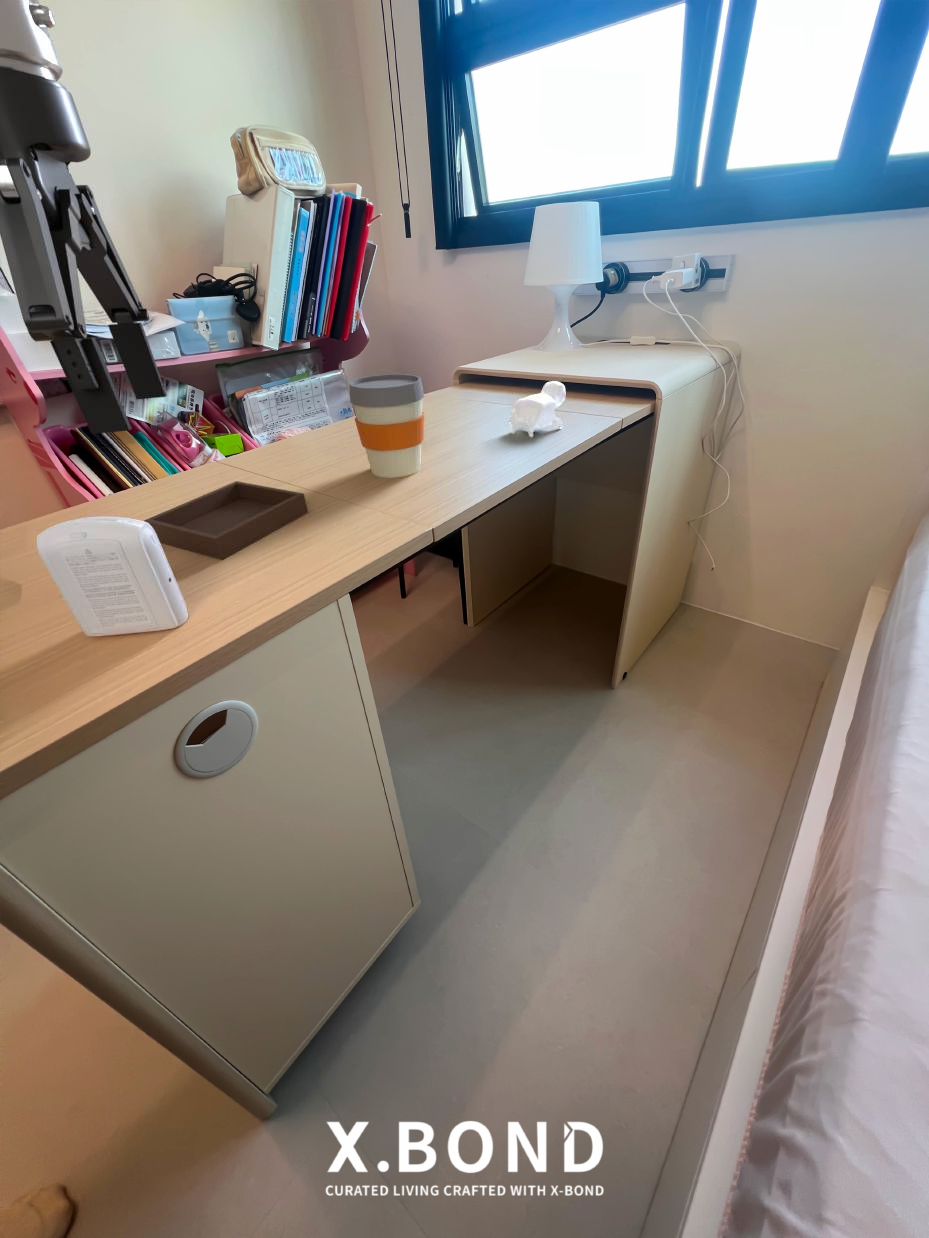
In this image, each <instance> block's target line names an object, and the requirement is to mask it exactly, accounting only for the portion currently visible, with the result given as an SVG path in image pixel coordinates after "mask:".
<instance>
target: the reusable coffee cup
mask: <svg viewBox="0 0 929 1238" xmlns="http://www.w3.org/2000/svg"><path fill="white" fill-rule="evenodd" d="M348 387H349V389H348V391H349V400H350V401H349V402H350V403H351V404H352V407H353V410H354V413H355V418H354V422H355V426H356V429H357V433H358V437H359V440H360V443H361V446H362V448H364V450H365V452H366V456H367V460H368V463H369V467H370V470H371V473H372V475H374V476H376V477H379V478H384V479H385V478H386V479H396V478H397V479H398V478H404V477H408V476H412V475H415V474H417V473H418V472H419V471H420V470H421V462H422V461H421V459H422V443H423V442H424V440H425V439H424V437H425V435H424V434H425V412H424V411H423V399H424V398H425V392H424V388H423V382H422V377H421V376H419V375H415V374H407V373H388V374H375V375H369V376H363V377H359V378H355V379H354V380H350V382H349V383H348Z"/></svg>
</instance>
